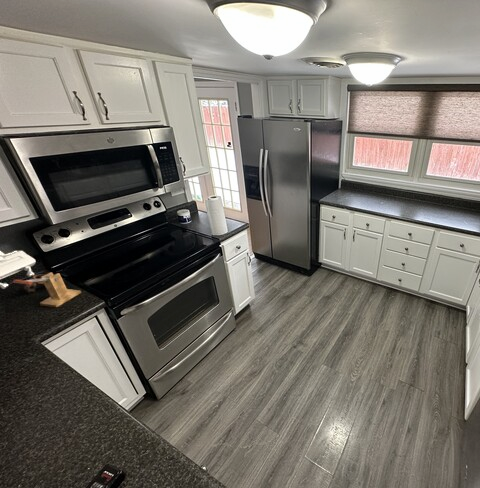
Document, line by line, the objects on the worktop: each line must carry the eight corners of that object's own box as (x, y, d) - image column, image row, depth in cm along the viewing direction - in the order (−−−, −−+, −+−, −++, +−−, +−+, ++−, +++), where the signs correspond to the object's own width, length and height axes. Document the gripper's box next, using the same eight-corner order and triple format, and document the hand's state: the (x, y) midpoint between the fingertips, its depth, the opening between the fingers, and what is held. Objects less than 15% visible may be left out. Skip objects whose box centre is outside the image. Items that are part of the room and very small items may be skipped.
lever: (28, 286, 114) (28, 280, 114) (12, 284, 115) (13, 278, 115) (62, 281, 127) (62, 276, 127) (47, 279, 128) (48, 274, 128)
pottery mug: (33, 285, 141) (39, 271, 140) (54, 291, 144) (59, 277, 143) (13, 293, 129) (19, 278, 129) (36, 299, 132) (42, 285, 132)
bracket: (56, 307, 125) (44, 283, 119) (40, 305, 126) (27, 281, 120) (81, 292, 136) (71, 269, 130) (66, 290, 137) (55, 267, 131)
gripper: (17, 252, 123) (44, 272, 126) (-44, 275, 105) (-12, 298, 108) (21, 245, 121) (48, 265, 124) (-42, 267, 102) (-9, 290, 105)
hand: (19, 281), depth 116 cm, fingers open, 8 cm apart
